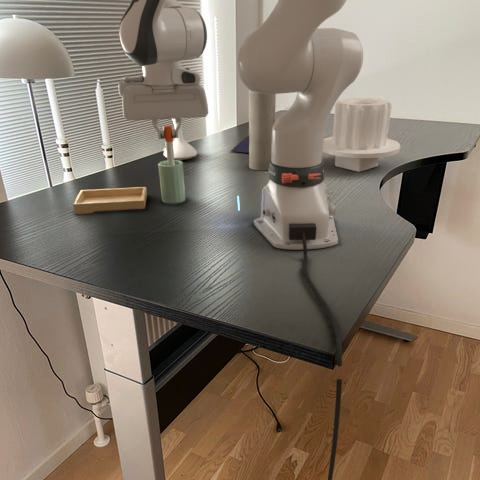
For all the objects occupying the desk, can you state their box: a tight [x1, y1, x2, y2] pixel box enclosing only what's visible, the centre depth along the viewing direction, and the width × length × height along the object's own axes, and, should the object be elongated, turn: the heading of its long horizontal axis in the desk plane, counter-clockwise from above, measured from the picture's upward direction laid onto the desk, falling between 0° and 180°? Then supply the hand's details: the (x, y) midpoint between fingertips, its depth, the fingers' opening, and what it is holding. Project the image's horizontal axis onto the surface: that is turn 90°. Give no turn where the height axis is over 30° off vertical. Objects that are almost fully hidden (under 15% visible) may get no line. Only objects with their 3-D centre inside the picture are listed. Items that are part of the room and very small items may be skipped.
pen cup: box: [157, 159, 187, 204], centre depth 124 cm, size 6×6×10 cm
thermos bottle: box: [248, 89, 277, 171], centre depth 145 cm, size 8×8×28 cm
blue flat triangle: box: [230, 135, 249, 154], centre depth 176 cm, size 24×30×4 cm
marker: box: [163, 125, 175, 166], centre depth 120 cm, size 2×2×14 cm
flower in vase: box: [163, 118, 198, 161], centre depth 157 cm, size 13×11×25 cm
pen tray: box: [72, 186, 148, 215], centre depth 124 cm, size 11×17×3 cm, turn 97°
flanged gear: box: [323, 97, 401, 173], centre depth 147 cm, size 25×25×19 cm
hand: (168, 138), depth 118 cm, fingers closed on marker, 2 cm apart
